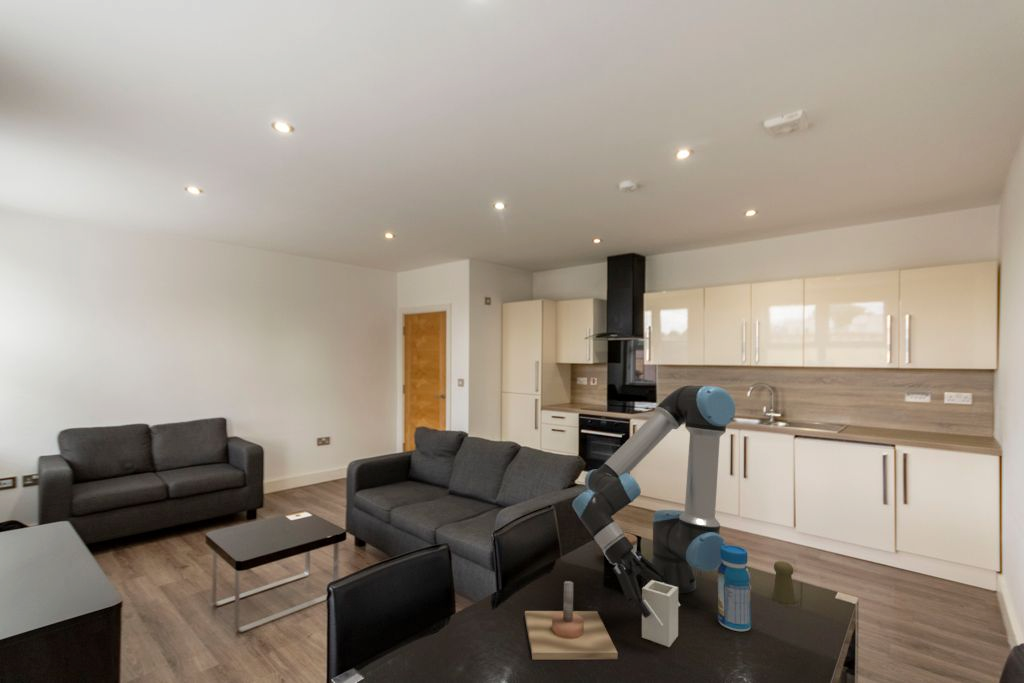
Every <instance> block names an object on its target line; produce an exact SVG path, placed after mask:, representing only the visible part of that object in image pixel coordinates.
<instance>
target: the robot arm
mask: <svg viewBox="0 0 1024 683" xmlns="http://www.w3.org/2000/svg"><path fill="white" fill-rule="evenodd" d="M735 415H736V404H735V401H734V398H733V397H732V396H731V395H730V393H729V392H728V391H727V390H725V389H724V388H722V387H719V386H714V385H685V386H684V385H683V386H682V387H681V386H680V387H679V388H677V389H675V390H674V391H673V392H671V393H670V394H668V395H667V396H666V397H665V398H664V399H663V400H661V402H660V403H659V404H658V405H656V407H655V408H654V413H653V414H652V415H651V416H650V417H649V418H648V419H647V420H646V421H645V422H644V423H643V424H642V425H641V426H640V427H639V428H638V429H637V430H636V431H635V432H634V433H633V434H632V435H631V436H630V437H629V438H628V439H627V440H626V441H625V443H623V444H622V445H621V446H620V447H619V448H618V449H617V450H616V451H615V452H614V453H613V454H612V455H610V457H609V458H608V459H607V460H606V461H605V462H604V463H603V464H602V465H601V466H600V467H599V468H597V469H592V470H588V472H587V473H586V474H585V477H584V485H585V487H586V490H585V491H583V492H581V493H580V494H578V496H577V497H576V498H575V499H573V501H572V504H571V505H572V506H571V507H572V508H573V509H574V512H575V513H576V514H577V516H578V518H579V520H580V521H581V522H582V523H583V525H584V526H585V528H586V529H587V530H588V532H589V534H590V535H591V536H592V537H593V538H594V540H595V541H596V544H597V545H598V546H599V547H600V548H601V551H603V550H606V551H605V555H606V556H607V557H608V559H609V560H610V562H611V563H612V564H611V563H610V562H609V563H610V564H611V565H613V564H614V563H617V564H618V565H617V566H616V565H614V567H612V570H613V573H614V574H615V576H616V578H617V580H618V582H619V585H620V586H621V590H622V592H623V595H624V598H625V599H626V602H627V604H628V605H629V607H631V608H632V609H634V608H636V607H637V610H638V611H639V612H640V613H641V616H642V615H643V616H644V617H645V619H646V620H647V622H648V623H649V624H650V626H651V627H652V629H653V630H654V632H655V631H656V630H658V629H659V628H660V627H662V626H663V624H662V622H661V621H660V619H659V618H658V617H657V615H656V614H655V612H654V611H653V610H652V608H651V607H650V605H649V604H648V603H647V601H646V600H644V601H643V599H642V591H641V589H640V586H639V582H638V578H637V576H641V577H642V578H644V579H645V580H646V581H647V584H648V583H649V582H650V581H651V580H654V581H658V582H661V583H665V584H668V585H672V586H676V587H678V594H689V593H692V592H694V591H695V590H696V588H697V580H696V576H695V573H694V570H693V568H694V569H696V570H698V571H701V572H709V573H710V572H712V571H715V570H718V568H719V566H720V564H721V563H722V562H723V561H722V560H721V555H720V549H721V546H724V545H727V543H726V540H724V538H723V536H721V534H720V529H721V523H720V522H719V521H718V519H717V518H716V506H717V505H716V504H717V491H718V490H717V489H718V488H717V487H718V474H719V473H718V472H719V471H718V470H719V456H720V441H721V437H722V436H723V435H725V433H726V431H727V429H726V428H727V425H728V424H730V423H731V421H733V420H734V417H735ZM683 424H685V426H684V428H685V429H686V430H687V431H688V432H689V443H688V444H689V445H688V457H687V458H688V460H687V472H686V486H685V498H684V500H685V501H684V510H680V509H679V510H678V509H661V510H660V509H659V510H656V511H654V513H653V517H652V522H651V523H652V558H651V561H649V560H648V559H646V557H645V556H644V555H643V554H642V553H641V552H640V551H639V550H636V552H635V553H634V554H633V553H632V552H631V550H632V549H633V545H632V544H631V543H630V541H629V540H628V538H627V537H625V536H623V534H624V533H623V532H624V531H623V530H622V529H621V528H620V526H619V525H618V524H617V523H616V521H615V520H614V518H613V516H614V515H615V514H617V513H619V512H620V511H621V510H622V509H624V508H625V507H627V506H628V505H630V503H633V502H634V501H635V500H636V499H637V498H638V497H639V496H641V490H642V489H641V487H640V484H639V483H638V482H637V480H636V479H635V478H634V477H633V475H631V474H630V473H631V472H632V471H633V470H634V468H636V467H637V466H638V465H639V464H640V463H641V461H643V460H644V459H645V457H647V456H648V454H650V453H651V451H652V450H653V449H654V448H656V447H657V446H658V445H659V443H660V442H661V441H662V440H664V438H666V437H667V435H668V434H669V433H670V432H671V431H672V430H679V428H680V427H681V426H682V425H683ZM605 555H604V556H605ZM606 556H605V557H606ZM608 559H607V560H608ZM609 560H608V561H609ZM642 601H643V602H642ZM680 606H681V604H680V602H679V601H678V608H680Z"/></svg>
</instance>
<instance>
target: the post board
mask: <svg viewBox="0 0 1024 683" xmlns="http://www.w3.org/2000/svg"><path fill="white" fill-rule="evenodd" d="M562 609H563V610H525V611H524V620H525V624H526V631H527V636H528V642H529V647H530V651H531V652H530V653H531V658H532V660H538V661H539V660H540V661H541V660H545V661H546V660H552V661H553V660H557V661H558V660H559V661H560V660H618V659H619V658H618V656H619V655H618V653H619V652H618V651H617V648H616V646H615V645H614V643H613V642H614V641H612V639H611V637H610V634H609V633H608V631H607V629H606V627H605V624H604V623H603V622H604V621H603V620H602V619H601V618H602V617H601V616H600V614H599V613H598V611H597V610H590V611H589V610H587V611H586V610H574V582H573V581H569V580H568V581H567V580H565V581H564V582H563V608H562Z"/></svg>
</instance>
